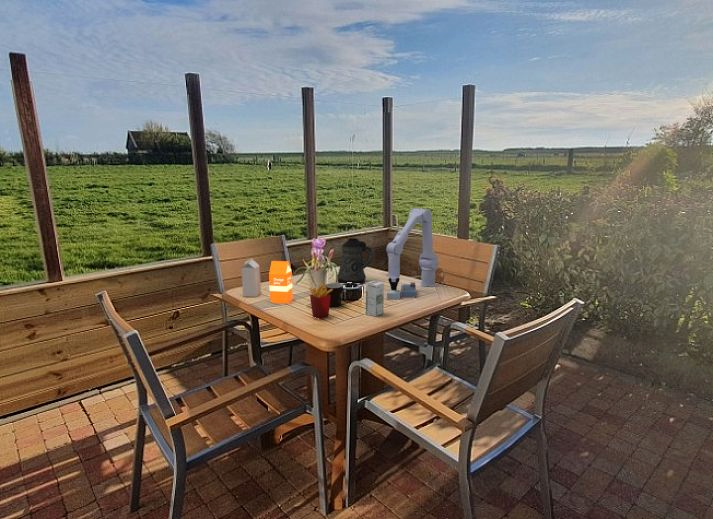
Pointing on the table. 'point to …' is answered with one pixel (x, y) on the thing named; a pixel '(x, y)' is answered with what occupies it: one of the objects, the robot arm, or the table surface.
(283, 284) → the orange juice
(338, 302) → the coffee mug
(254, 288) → the milk carton
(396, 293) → the light blue box
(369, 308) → the syrup box
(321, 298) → the french fries
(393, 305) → the table surface
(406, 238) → the robot arm
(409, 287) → the network switch box
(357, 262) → the beer stein
